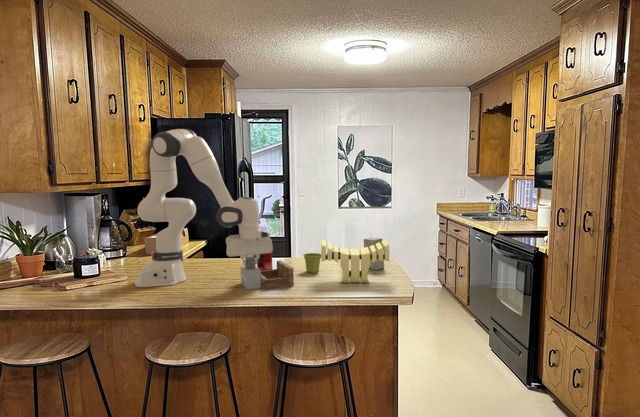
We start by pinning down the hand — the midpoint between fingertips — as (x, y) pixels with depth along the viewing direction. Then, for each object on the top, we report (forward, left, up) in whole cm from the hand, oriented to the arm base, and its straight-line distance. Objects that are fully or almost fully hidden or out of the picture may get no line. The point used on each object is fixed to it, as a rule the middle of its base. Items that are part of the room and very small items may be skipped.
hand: (250, 264), depth 180 cm
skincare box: (+66, +4, -10) cm, 67 cm away
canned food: (+14, +26, -10) cm, 31 cm away
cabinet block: (0, 0, -9) cm, 9 cm away
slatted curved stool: (+46, -12, -10) cm, 48 cm away
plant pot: (+35, +12, -10) cm, 38 cm away
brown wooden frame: (+11, 0, -10) cm, 14 cm away
